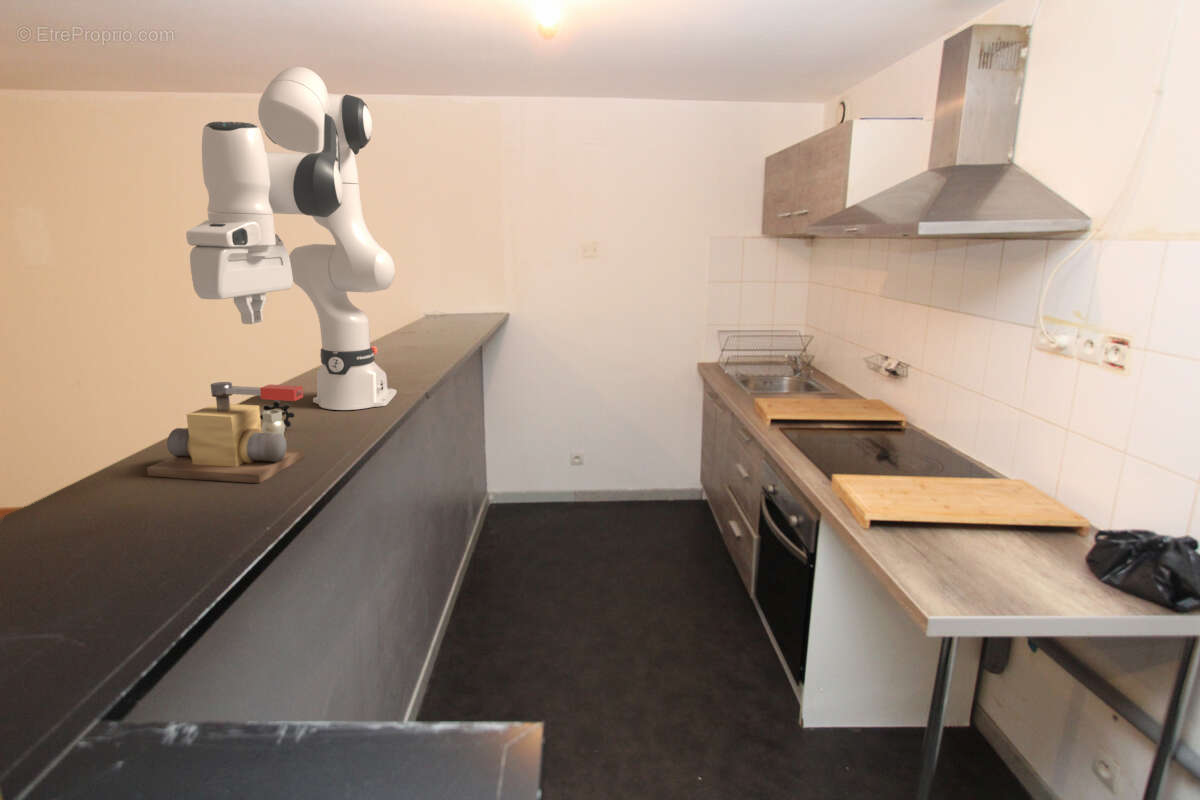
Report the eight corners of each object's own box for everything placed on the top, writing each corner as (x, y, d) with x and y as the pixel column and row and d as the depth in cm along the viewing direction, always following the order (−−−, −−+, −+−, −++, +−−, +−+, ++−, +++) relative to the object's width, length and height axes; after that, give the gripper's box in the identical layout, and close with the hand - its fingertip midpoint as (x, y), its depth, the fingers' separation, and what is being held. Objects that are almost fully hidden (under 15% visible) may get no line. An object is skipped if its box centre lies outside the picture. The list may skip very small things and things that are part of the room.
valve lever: (207, 396, 111) (206, 385, 111) (219, 392, 114) (218, 381, 114) (293, 401, 110) (293, 389, 109) (303, 397, 113) (302, 385, 113)
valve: (292, 445, 129) (295, 428, 140) (289, 413, 127) (293, 399, 138) (255, 447, 126) (261, 430, 137) (252, 415, 125) (259, 401, 136)
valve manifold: (203, 450, 123) (196, 385, 120) (303, 456, 122) (298, 391, 119) (148, 476, 109) (137, 403, 106) (259, 483, 108) (252, 410, 105)
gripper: (263, 233, 109) (271, 314, 112) (176, 232, 89) (189, 331, 93) (298, 234, 108) (305, 315, 112) (220, 234, 89) (231, 333, 92)
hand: (252, 322), depth 102 cm, fingers closed
